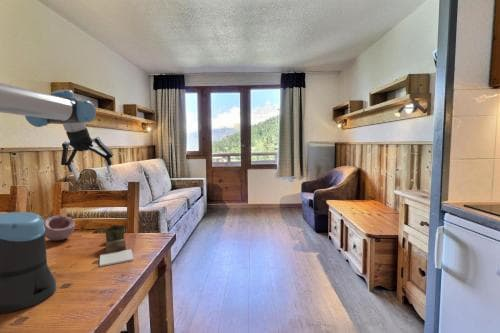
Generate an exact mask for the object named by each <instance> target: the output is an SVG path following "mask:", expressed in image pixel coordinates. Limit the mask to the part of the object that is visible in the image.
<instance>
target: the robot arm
mask: <svg viewBox="0 0 500 333" xmlns="http://www.w3.org/2000/svg"><path fill="white" fill-rule="evenodd" d="M0 113H3V114H12V115H19V116H24V117H25V120H26V121H27V122H28V123H29V124H30V125H32V126H33V127H35V128H41V127H44V126H45V127H46V126H48V125H49V124H62V127H63V129H64V131H65V133H66V136H67V138H68V140H69V141H64V142H62V144H61V146H62V152H61V153H62V154H61V159H60V160H61V161H60V165H61V166H67V168H68V171H69V173H72V175H73V176H74V179H75V180H77V179H78V178H80V174H79V172H78V170H77V168H76V165H75V163H74V162H73V161H74V159H75V156H76V154H77V152H84V151H85V152H86V151H88V150H89V151H91V152H94V153H95V154H96V155H98V156H99V157H101V158H103V162H104V164H105V167H106V170H107V173H108V174H111V173H112V172H113V170H112V160H111V158H112V157H113V156H114V153H113V151H111V150H110V148H108V147H107V145H105V143H103V141H101V140H102V139H100V137H99V136H96V137H94V138H91V136H90V132H89V131H88V128H87V127H86V126H87V125H86V123H91V122H93V121H95V118H96V116H97V114H96V113H97V112H96V107H95V106H94V104H93V103H92V102H91V101H89V100H83V99H77V97H76V94H74V92H73V90H71V89H67V88H66V89H58V90H53V91H52V92H50V94H49V93H45V92H40V91H36V90H32V89H27V88H25V87H24V88H23V87H19V86H15V85H11V84H8V83H7V84H6V83H3V82H0ZM93 143H94V144H96V145H97V146H98V147H97V146H96V145H94V144H93ZM70 147H72V148H73V150H72V151H71V153H70V156H69V157H68V152H69V148H70ZM99 148H100V149H99ZM56 290H57V281H56V279H55V277H54V274H53V273H52V270H51V269H50V267H49V266H48V261H47V243H46V237H45V226H44V219H43V217H42V216H41V215H40V214H37V213H34V212H31V211H30V212H29V211H28V212H27V211H21V212H18V211H15V212H12V211H11V212H5V213H0V314H6V313H13V312H17V311H21V310H25V309H27V308H30V307H33V306H35V305H37V304H40V303H42V302H44V301H45V300H47V299H48V298H50V297H51V296H52V295H53V294H54V293H55V292H56Z"/></svg>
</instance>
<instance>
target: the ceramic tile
mask: <svg viewBox="0 0 500 333" xmlns="http://www.w3.org/2000/svg"><path fill="white" fill-rule="evenodd" d="M132 250H133V249H126V250H122V251H117V252H111V253H102V254H100V255H99V267H105V266H111V265H116V264H121V263H126V262H132V261H134V260H135V259H134V254H133V251H132Z"/></svg>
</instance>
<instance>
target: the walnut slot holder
mask: <svg viewBox="0 0 500 333" xmlns="http://www.w3.org/2000/svg"><path fill="white" fill-rule="evenodd" d="M126 246H127V244H126V238H125V236H124V237H123V239H120V240H114V241H107V238H106V237H105V254H107V253H113V252H119V251H124V250H127V248H126Z"/></svg>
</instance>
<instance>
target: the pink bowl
mask: <svg viewBox="0 0 500 333" xmlns="http://www.w3.org/2000/svg"><path fill="white" fill-rule="evenodd" d="M75 222H76V221H74V219H73V218H71V216H70V217H69V216H67V215H61V214H59V215H58V214H57V215H51V216H50V217H47V218H46V219H45V220H43V223H44V226H45V239H46V238H47V239H48V240H51V241H55V242H57V241H63V240H65V239H68V238H69V237H70V236H71V235H72V234H73V233H74V231H75V228H76V223H75Z"/></svg>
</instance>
